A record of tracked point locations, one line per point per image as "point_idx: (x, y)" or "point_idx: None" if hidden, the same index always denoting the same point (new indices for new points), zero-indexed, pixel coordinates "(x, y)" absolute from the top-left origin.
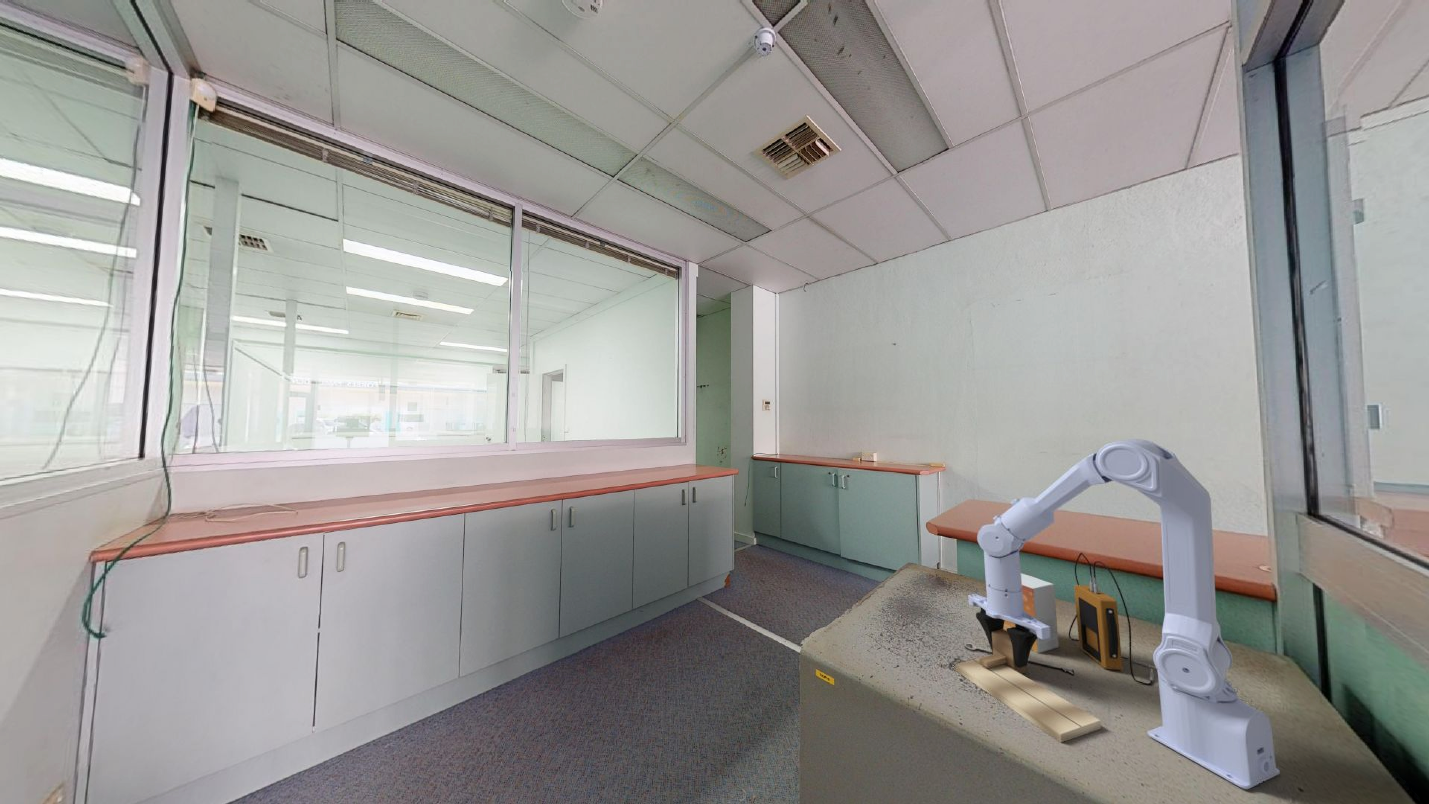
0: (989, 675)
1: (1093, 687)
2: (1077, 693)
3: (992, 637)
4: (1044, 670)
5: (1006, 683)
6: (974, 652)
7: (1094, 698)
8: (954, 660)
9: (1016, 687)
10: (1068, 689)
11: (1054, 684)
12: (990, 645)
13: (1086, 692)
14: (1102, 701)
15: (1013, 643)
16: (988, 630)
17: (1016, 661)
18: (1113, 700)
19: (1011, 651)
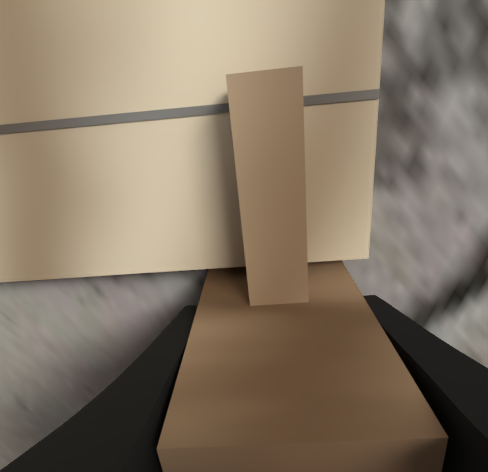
0: (167, 38)
1: None
2: (53, 392)
3: (403, 376)
4: None
5: (61, 86)
6: (469, 238)
7: (21, 417)
8: (479, 2)
9: (15, 118)
10: (80, 386)
11: (117, 367)
12: (398, 315)
13: (58, 423)
14: (4, 424)
15: (106, 439)
16: (485, 426)
17: (179, 320)
18: (11, 456)
19: (196, 356)
